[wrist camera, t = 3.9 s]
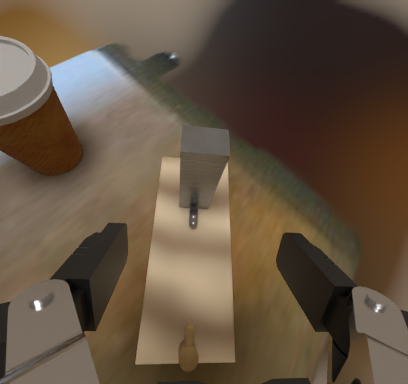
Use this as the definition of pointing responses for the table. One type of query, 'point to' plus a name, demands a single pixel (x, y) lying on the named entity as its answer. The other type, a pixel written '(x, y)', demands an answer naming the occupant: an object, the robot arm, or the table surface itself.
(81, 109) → the table surface
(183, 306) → the rail
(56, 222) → the table surface
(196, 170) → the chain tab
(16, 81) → the disposable coffee cup
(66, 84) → the table surface
